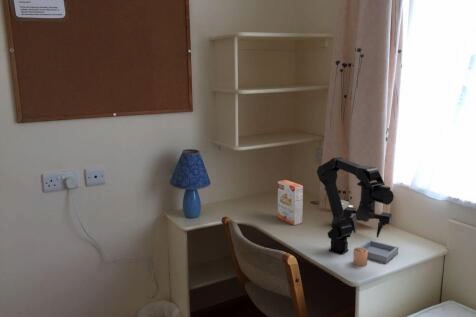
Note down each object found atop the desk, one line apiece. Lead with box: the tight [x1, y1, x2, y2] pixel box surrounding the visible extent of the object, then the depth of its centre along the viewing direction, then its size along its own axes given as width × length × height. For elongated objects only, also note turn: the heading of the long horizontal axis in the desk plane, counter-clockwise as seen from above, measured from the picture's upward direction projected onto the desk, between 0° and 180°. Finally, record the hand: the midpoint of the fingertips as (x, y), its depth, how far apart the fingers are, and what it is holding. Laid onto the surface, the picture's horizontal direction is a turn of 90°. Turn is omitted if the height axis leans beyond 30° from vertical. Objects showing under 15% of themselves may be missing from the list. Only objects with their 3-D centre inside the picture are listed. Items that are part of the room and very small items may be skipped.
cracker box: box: [277, 179, 304, 226], centre depth 229 cm, size 14×6×21 cm, turn 33°
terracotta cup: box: [352, 246, 368, 268], centre depth 180 cm, size 6×6×6 cm
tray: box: [360, 239, 400, 265], centre depth 189 cm, size 13×13×3 cm
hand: (366, 235), depth 177 cm, fingers open, 9 cm apart
